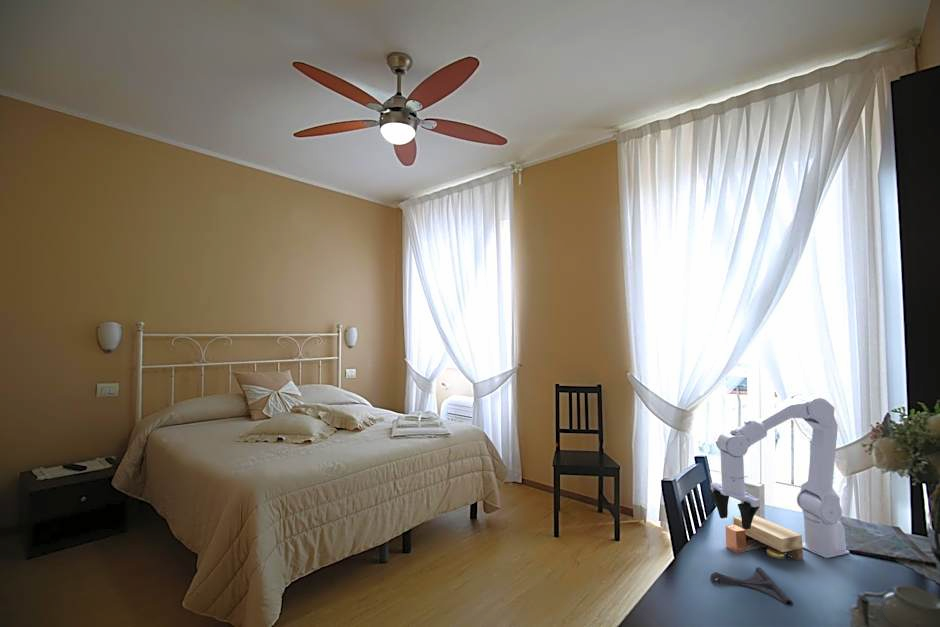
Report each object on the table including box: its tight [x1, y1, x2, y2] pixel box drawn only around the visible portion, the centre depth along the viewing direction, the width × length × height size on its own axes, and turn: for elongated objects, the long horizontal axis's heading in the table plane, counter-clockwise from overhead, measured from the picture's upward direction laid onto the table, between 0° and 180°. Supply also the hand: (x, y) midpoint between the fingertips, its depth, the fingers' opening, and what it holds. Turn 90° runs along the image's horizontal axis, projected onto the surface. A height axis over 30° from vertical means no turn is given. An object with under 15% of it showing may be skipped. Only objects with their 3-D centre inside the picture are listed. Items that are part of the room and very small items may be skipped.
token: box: [765, 546, 787, 560], centre depth 120 cm, size 4×4×2 cm
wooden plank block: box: [732, 515, 804, 561], centre depth 124 cm, size 8×15×6 cm, turn 17°
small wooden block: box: [724, 524, 767, 554], centre depth 125 cm, size 11×4×6 cm, turn 107°
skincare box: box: [740, 478, 766, 520], centre depth 144 cm, size 6×4×12 cm
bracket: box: [710, 566, 794, 606], centre depth 106 cm, size 14×15×3 cm
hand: (734, 523), depth 124 cm, fingers open, 7 cm apart
